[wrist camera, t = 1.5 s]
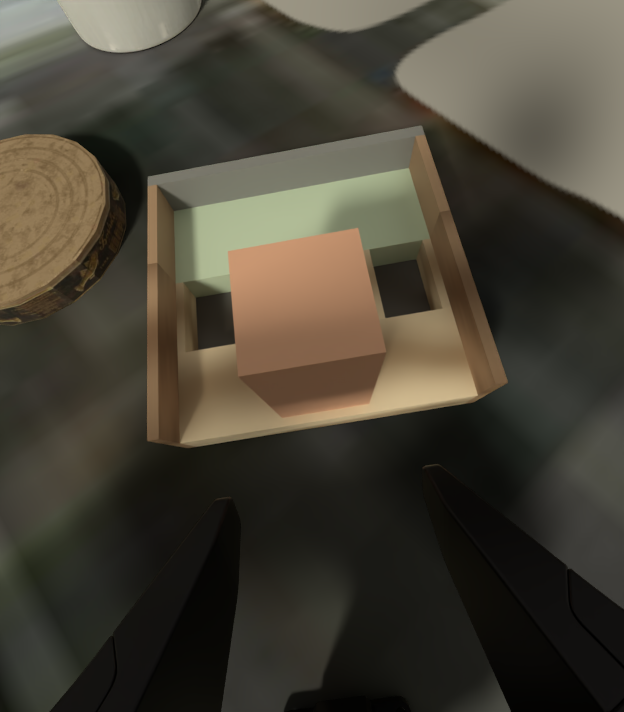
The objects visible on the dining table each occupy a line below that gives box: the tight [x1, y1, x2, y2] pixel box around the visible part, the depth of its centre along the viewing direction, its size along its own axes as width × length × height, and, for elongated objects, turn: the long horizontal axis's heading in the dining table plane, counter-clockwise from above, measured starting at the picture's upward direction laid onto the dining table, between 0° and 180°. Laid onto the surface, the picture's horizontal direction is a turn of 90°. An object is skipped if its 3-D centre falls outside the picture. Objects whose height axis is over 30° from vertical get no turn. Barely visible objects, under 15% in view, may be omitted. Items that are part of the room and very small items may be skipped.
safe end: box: [148, 126, 450, 298], centre depth 25 cm, size 7×18×5 cm, turn 99°
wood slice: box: [0, 135, 126, 326], centre depth 29 cm, size 16×16×3 cm
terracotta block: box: [228, 228, 386, 418], centre depth 17 cm, size 5×5×9 cm
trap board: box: [147, 210, 508, 448], centre depth 22 cm, size 10×18×5 cm, turn 99°
